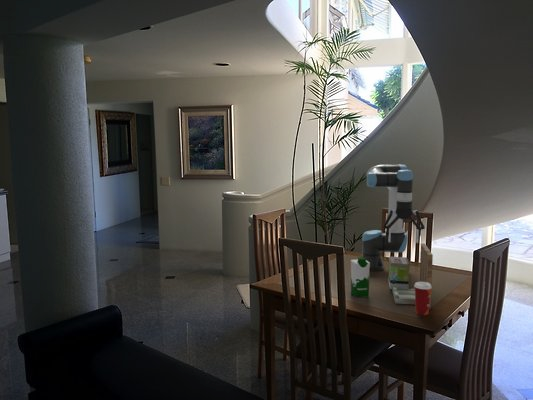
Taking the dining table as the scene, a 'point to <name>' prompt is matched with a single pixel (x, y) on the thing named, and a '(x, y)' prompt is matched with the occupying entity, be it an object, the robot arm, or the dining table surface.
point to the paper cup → (422, 297)
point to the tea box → (398, 272)
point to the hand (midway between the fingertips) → (403, 242)
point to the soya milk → (360, 277)
